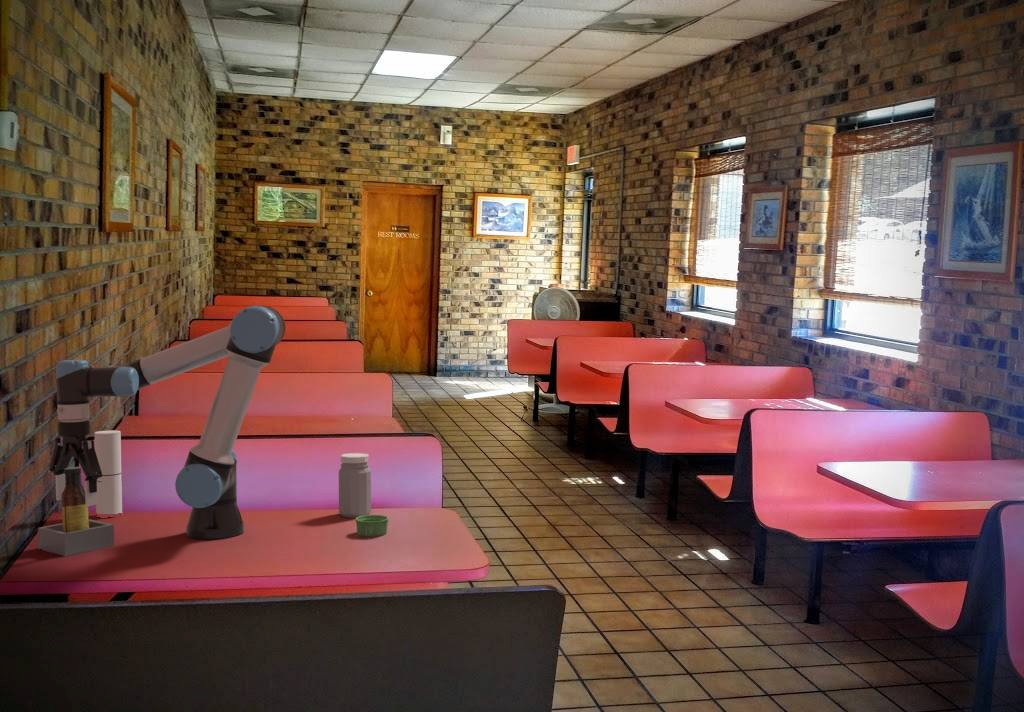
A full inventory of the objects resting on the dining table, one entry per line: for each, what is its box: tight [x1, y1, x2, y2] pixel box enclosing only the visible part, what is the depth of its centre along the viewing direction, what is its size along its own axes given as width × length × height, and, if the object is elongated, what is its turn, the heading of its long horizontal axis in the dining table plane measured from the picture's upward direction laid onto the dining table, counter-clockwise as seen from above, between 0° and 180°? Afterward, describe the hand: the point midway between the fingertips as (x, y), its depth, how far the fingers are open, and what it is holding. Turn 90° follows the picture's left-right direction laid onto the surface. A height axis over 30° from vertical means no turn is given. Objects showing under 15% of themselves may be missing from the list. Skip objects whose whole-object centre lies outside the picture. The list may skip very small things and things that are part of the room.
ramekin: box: [354, 514, 389, 538], centre depth 271 cm, size 9×9×4 cm
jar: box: [338, 452, 372, 519], centre depth 294 cm, size 10×10×18 cm
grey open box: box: [37, 519, 115, 557], centre depth 255 cm, size 12×13×6 cm
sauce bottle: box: [61, 466, 90, 533], centre depth 254 cm, size 7×6×20 cm
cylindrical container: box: [94, 429, 123, 514], centre depth 292 cm, size 7×7×25 cm
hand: (76, 502), depth 254 cm, fingers open, 13 cm apart
